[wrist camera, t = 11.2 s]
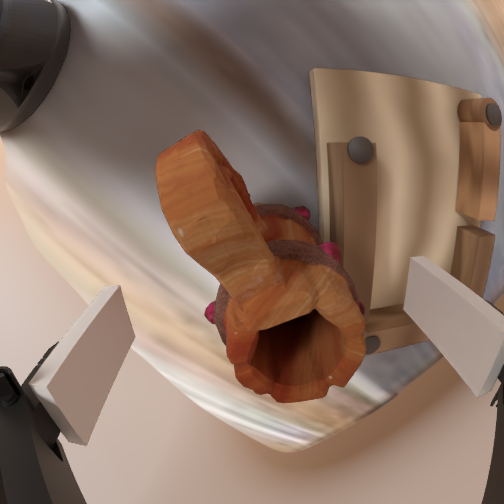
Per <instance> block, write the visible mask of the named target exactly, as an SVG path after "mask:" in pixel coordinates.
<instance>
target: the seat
mask: <svg viewBox="0 0 504 504" xmlns="http://www.w3.org/2000/svg"><path fill="white" fill-rule="evenodd" d="M309 77H310V86H311V96H312V107H313V119H314V131H315V145H316V162H317V181H318V208H319V235H320V237H321V239H322V241H323V244H324V243H326V242H332V243H337V245H338V247H339V250H340V253H341V262H340V264H341V265H342V267H343V268H344V269H345V270H346V272H347V273H348V274H349V276H350V277H351V279H352V281H353V282H354V284H355V287H356V290H357V294H358V297H359V301H361V302H362V303H363V305H364V307H365V314H364V315H363V317H364V318H365V320H366V327H365V329H364V331H363V333H362V335H363V336H364V338H365V345H366V353H365V355H370V354H375V353H379V352H384V351H388V350H392V349H396V348H401V347H405V346H409V345H412V344H416V343H420V342H424V341H427V340H430V339H429V338H428V337H427V336H426V334H425V333H424V332H423V331H422V330H421V329H420V328H419V326H418V325H417V324H416V323H415V322H414V321H413V320H412V318H411V317H410V316H409V315H408V314H407V313H406V312H405V311H404V310H403V308H404V301H405V295H406V288H407V281H408V273H409V265H410V257H417V256H424V257H426V258H427V259H429V260H430V261H432V262H433V263H435V264H436V265H437V266H439V267H440V268H442V269H443V270H444V271H446V272H447V273H449V274H450V275H451V276H453V277H454V278H456V279H457V280H458V281H460V282H461V283H462V284H464V285H465V286H467V287H468V288H469V289H471V290H472V291H473V292H474V293H476V294H477V295H478V296H480V297H481V298H483V294H484V290H485V286H486V282H487V277H488V273H489V268H490V263H491V258H492V252H493V246H494V240H495V235H494V234H492V233H490V232H488V231H485V230H483V229H481V228H480V225H481V220H477V219H474V218H472V217H470V216H467V215H465V214H462V213H460V212H458V211H455V209H456V200H457V189H458V175H459V154H460V120H459V118H458V112H457V109H458V104H459V103H460V101H461V100H464V99H477V98H481V95H480V94H477V93H473V92H470V91H467V90H463V89H459V88H455V87H452V86H447V85H443V84H439V83H435V82H430V81H425V80H420V79H415V78H409V77H403V76H397V75H391V74H383V73H375V72H367V71H356V70H344V69H327V68H313V69H312V70H311V71H310V72H309Z"/></svg>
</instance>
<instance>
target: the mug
mask: <svg viewBox="0 0 504 504" xmlns="http://www.w3.org/2000/svg"><path fill="white" fill-rule="evenodd" d="M155 173H156V181H157V188H158V193H159V198H160V203H161V208H162V211H163V213H164V215H165V217H166V220H167V222H168V224H169V226H170V228H171V231H172V233H173V235H174V236H175V238H176V239H177V241H178V242H179V244H180V245H181V247H182V248H183V249H184V251H185V252H186V253H187V254H188V255H189V256H190V257H191V258H193V259H194V260H195V261H196V262H197V263H199V264H200V265H201V266H202V267H203V268H205V269H206V270H207V271H209V272H210V273H211V274H212V275H214V276H215V277H216V278H217V280H218V281H219V282H220V283H221V284H220V286H219V289H218V293H217V297H216V301H214V302H212V303H210V304H209V306H208V307H207V308H206V310H205V317H206V318H207V319H208V321H210V322H211V323H212V324H216V326H217V329H218V331H219V334H220V336H221V339H222V341H223V343H224V344H225V345H226V351H227V357H228V359H229V360H230V362H231V363H232V364H234V369H235V376H236V378H237V380H238V381H239V382H240V383H241V384H242V386H243V387H246V388H249V389H252V390H253V391H254V392H255V393H256V394H259V395H262V394H270V395H271V396H272V397H273V398H274V399H275V400H276V401H277V402H280V403H293V402H301V401H307V400H313V399H319V398H323V397H324V396H326V395H327V392H328V389H329V387H330V386H332V385H336V386H340V387H345V385H346V384H347V383H348V381H349V380H350V379H351V377H352V376H353V374H354V373H355V372H356V370H357V369H358V368H359V366H360V364H361V362H362V360H363V358H364V356H365V353H366V345H365V338H364V336H363V335H362V333H363V331H364V329H365V327H366V320H365V318H364V317H363V315H364V314H365V307H364V305H363V303H362V302H361V301H359V297H358V294H357V290H356V287H355V284H354V282H353V281H352V279H351V277H350V276H349V274H348V273H347V272H346V270H345V269H344V268H343V267H342V265H341V264H340V262H341V253H340V250H339V247H338V245H337V243H332V242H326V243H324V244H323V241H322V239H321V237H320V235H319V234H318V232H317V230H316V229H315V228H314V227H313V225H312V224H311V223H310V222H309V221H308V220H309V217H310V211H309V210H308V209H307V208H306V207H304V206H299V207H295V208H294V209H292V208H289V207H287V206H284V205H271V204H261V203H255V204H252V202H251V200H250V194H249V193H248V191H247V188H246V185H245V183H244V181H243V178H242V176H241V175H240V174H239V173H238V172H236V171H235V170H234V169H233V167H232V166H231V165H230V163H229V162H228V161H227V159H226V158H225V157H224V155H223V154H222V153H221V151H220V150H219V148H218V147H217V146H216V144H215V143H214V142H213V141H212V140H211V139H210V137H209V136H208V135H207V134H206V133H205V132H204V131H201V130H197V131H196V132H194V133H192V134H190V135H188V136H186V137H185V138H184V139H181V140H180V141H178V142H177V143H175V144H174V145H173V146H171V147H170V148H168V149H166V150H165V151H163V152H162V153H160V155H159V156H158V158H157V163H156V168H155Z"/></svg>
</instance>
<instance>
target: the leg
mask: <svg viewBox="0 0 504 504" xmlns="http://www.w3.org/2000/svg"><path fill="white" fill-rule="evenodd" d="M457 112H458V118H459V120H460V154H459V175H458V189H457V200H456V209H455V211H458V212H460V213H462V214H465V215H467V216H470V217H472V218H474V219H477V220H486V221H494V220H495V213H496V206H497V197H498V187H499V174H500V149H501V131H500V126H501V122H502V117H501V111H500V109H499V106H498V104H497V103H496V102H495V101H494V100H493V99H492V98H477V99H464V100H461V101H460V103H459V104H458V109H457Z"/></svg>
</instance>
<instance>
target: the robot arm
mask: <svg viewBox="0 0 504 504" xmlns="http://www.w3.org/2000/svg"><path fill="white" fill-rule="evenodd" d="M69 38H70V21H69V16H68V13H67V11H66V9H65V8H64V6H63V5H62V4H61V3H59V2H58V1H56V0H0V132H4V131H8V130H10V129H13V128H14V127H16V126H18V125H19V124H21V123H22V122H23V121H24V120H26V119H27V118H28V117H29V116H30V115H31V114H32V113H33V112H34V111H35V110H36V108H37V107H38V106H39V105H40V103H41V102H42V101H43V99H44V98H45V97H46V95H47V94H48V92H49V90H50V89H51V87H52V85H53V83H54V82H55V80H56V78H57V76H58V73H59V71H60V69H61V67H62V64H63V61H64V58H65V55H66V52H67V48H68V44H69ZM403 310H404V311H405V312H406V313H407V314H408V315H409V316H410V317H411V318H412V320H413V321H414V322H415V323H416V324H417V325H418V326H419V328H420V329H421V330H422V331H423V332H424V333H425V334H426V336H427V337H428V338H429V339H430V340H431V341H432V343H433V344H434V345H435V346H436V347H437V348H438V350H439V351H440V352H441V353H442V354H443V356H444V357H445V358H446V359H447V360H448V362H449V363H450V364H451V365H452V367H453V368H454V369H455V370H456V372H457V373H458V374H459V375H460V377H462V379H463V380H464V382H465V383H466V384H467V385H468V387H469V388H470V389H471V390H472V392H473V393H474V394H475V396H476V397H477V398H478V397H480V396H482V395H484V394H486V393H488V392H490V391H491V390H492V388H493V386H494V384H495V382H496V380H497V378H498V379H499V380H500V382H501V385H500V387H499V389H498V391H497V393H496V394H495V396H494V398H493V400H492V402H491V405H490V406H493V405H494V403H495V401H496V400H498V403H497V405H496V407H497V421H496V431H495V439H494V447H493V454H492V460H491V465H490V470H489V475H488V480H487V485H486V489H485V493H484V497H483V501H482V504H504V314H503V313H502V312H501V311H500V310H499V309H497V308H496V307H495V306H494V305H493V304H491V303H490V302H489V301H486V300H484V299H482V298H481V297H480V296H478V295H477V294H476V293H474V292H473V291H472V290H471V289H469V288H468V287H467V286H465V285H464V284H462V283H461V282H460V281H458V280H457V279H456V278H454V277H453V276H451V275H450V274H449V273H447V272H446V271H444V270H443V269H442V268H440V267H439V266H437V265H436V264H435V263H433V262H432V261H430V260H429V259H427V258H426V257H424V256H417V257H410V265H409V273H408V281H407V288H406V295H405V301H404V308H403ZM134 339H135V334H134V331H133V328H132V325H131V322H130V318H129V315H128V312H127V308H126V305H125V302H124V298H123V295H122V291H121V287H120V285H116V286H105V287H104V288H103V290H102V291H101V292H100V293H99V294H98V295H97V297H96V298H95V299H94V300H93V301H92V302H91V304H90V305H89V306H88V307H87V308H86V310H85V311H84V312H83V313H82V314H81V316H80V317H79V318H78V319H77V320H76V322H75V323H74V324H73V325H72V327H71V328H70V329H69V330H68V332H67V333H66V334H65V336H64V337H63V338H62V339H61V341H60V342H57V343H56V344H55V345H53V346H52V347H51V348H49V349H48V351H47V352H46V353H45V354H44V356H43V359H41V360H40V361H39V362H38V365H37V366H35V368H34V369H33V370H32V372H31V373H30V374H29V376H28V377H27V379H26V380H25V381H24V383H23V384H22V386H20V384H19V382H18V381H17V379H16V377H15V376H14V374H13V372H12V370H11V369H10V368H8V367H2V366H1V367H0V504H87V503H86V501H85V499H84V497H83V495H82V493H81V491H80V489H79V486H78V484H77V482H76V480H75V478H74V475H73V473H72V470H71V468H70V465H69V463H68V460H67V458H66V455H65V453H64V450H63V447H62V444H61V443H60V442H59V440H58V439H57V438H58V436H59V434H60V432H62V434H63V435H64V436H65V438H66V439H67V440H68V441H69V442H71V443H76V444H80V445H84V446H86V445H87V444H88V441H89V439H90V436H91V434H92V431H93V429H94V427H95V424H96V422H97V419H98V417H99V415H100V412H101V410H102V408H103V405H104V403H105V401H106V399H107V396H108V394H109V392H110V389H111V387H112V385H113V383H114V381H115V379H116V376H117V374H118V372H119V370H120V368H121V365H122V363H123V361H124V359H125V357H126V355H127V353H128V350H129V349H130V347H131V345H132V343H133V341H134Z"/></svg>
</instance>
